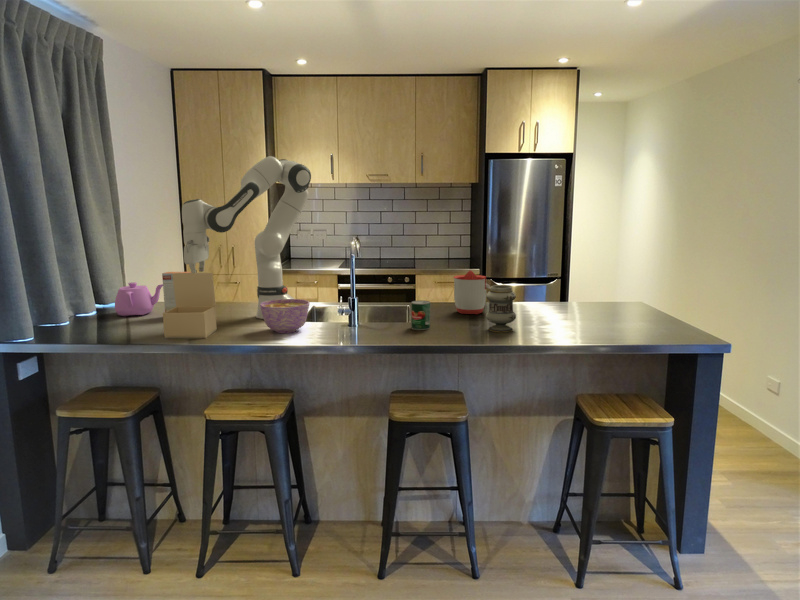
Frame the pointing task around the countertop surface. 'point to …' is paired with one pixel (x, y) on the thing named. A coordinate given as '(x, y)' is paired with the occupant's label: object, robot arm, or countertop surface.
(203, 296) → the wooden box lid
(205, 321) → the open wooden box
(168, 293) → the cracker box
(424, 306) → the canned tomato
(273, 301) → the bowl of food
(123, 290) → the teapot
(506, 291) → the apothecary jar
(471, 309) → the citrus juicer
